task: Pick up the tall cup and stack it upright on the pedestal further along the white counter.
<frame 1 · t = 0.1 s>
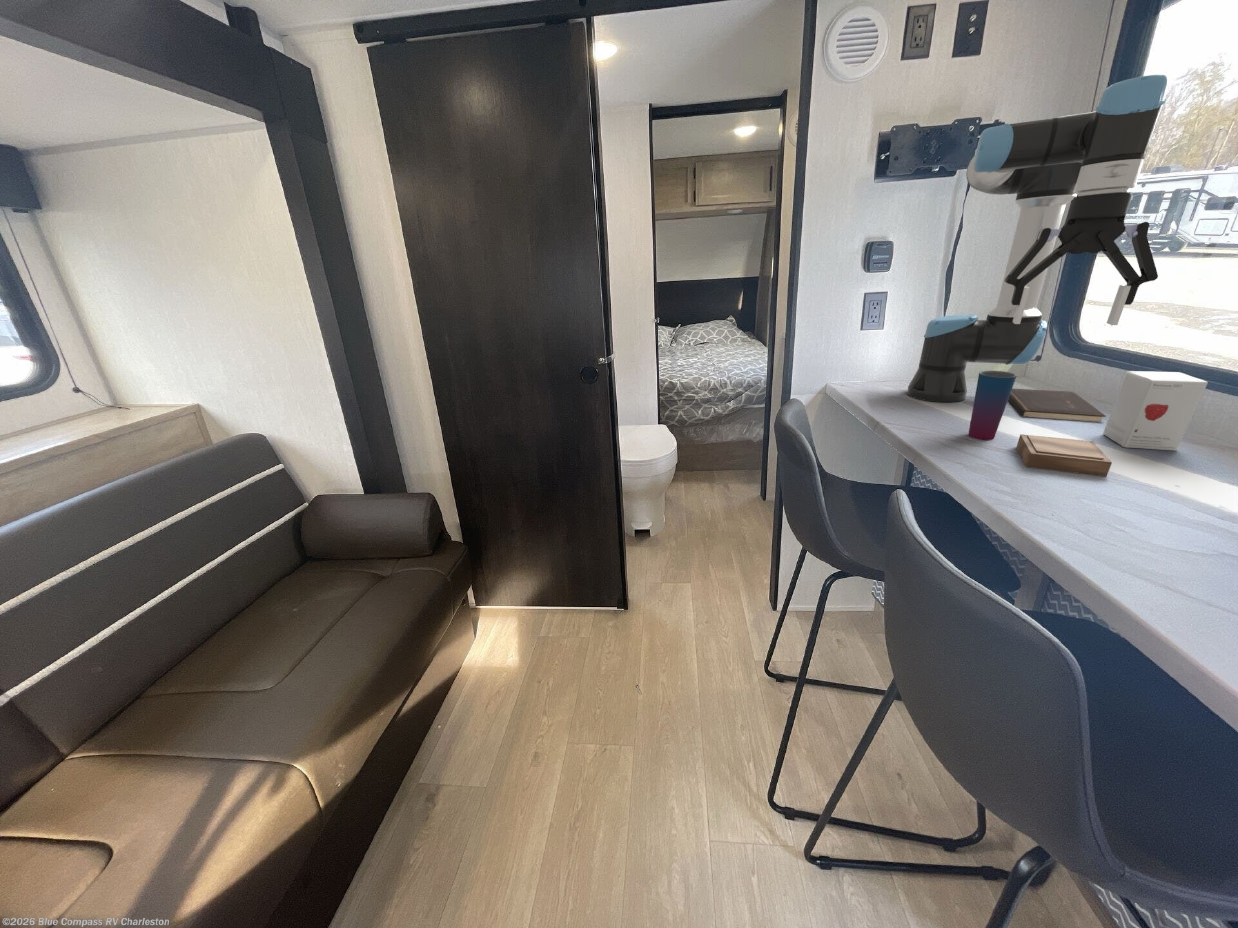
hand: (1062, 323, 88), 28 cm above the table, fingers open, 13 cm apart
cup: (980, 437, 113), on the table
hardcover book: (1047, 409, 130), on the table
supplement box: (1137, 443, 105), on the table
pedestal: (1058, 460, 99), on the table
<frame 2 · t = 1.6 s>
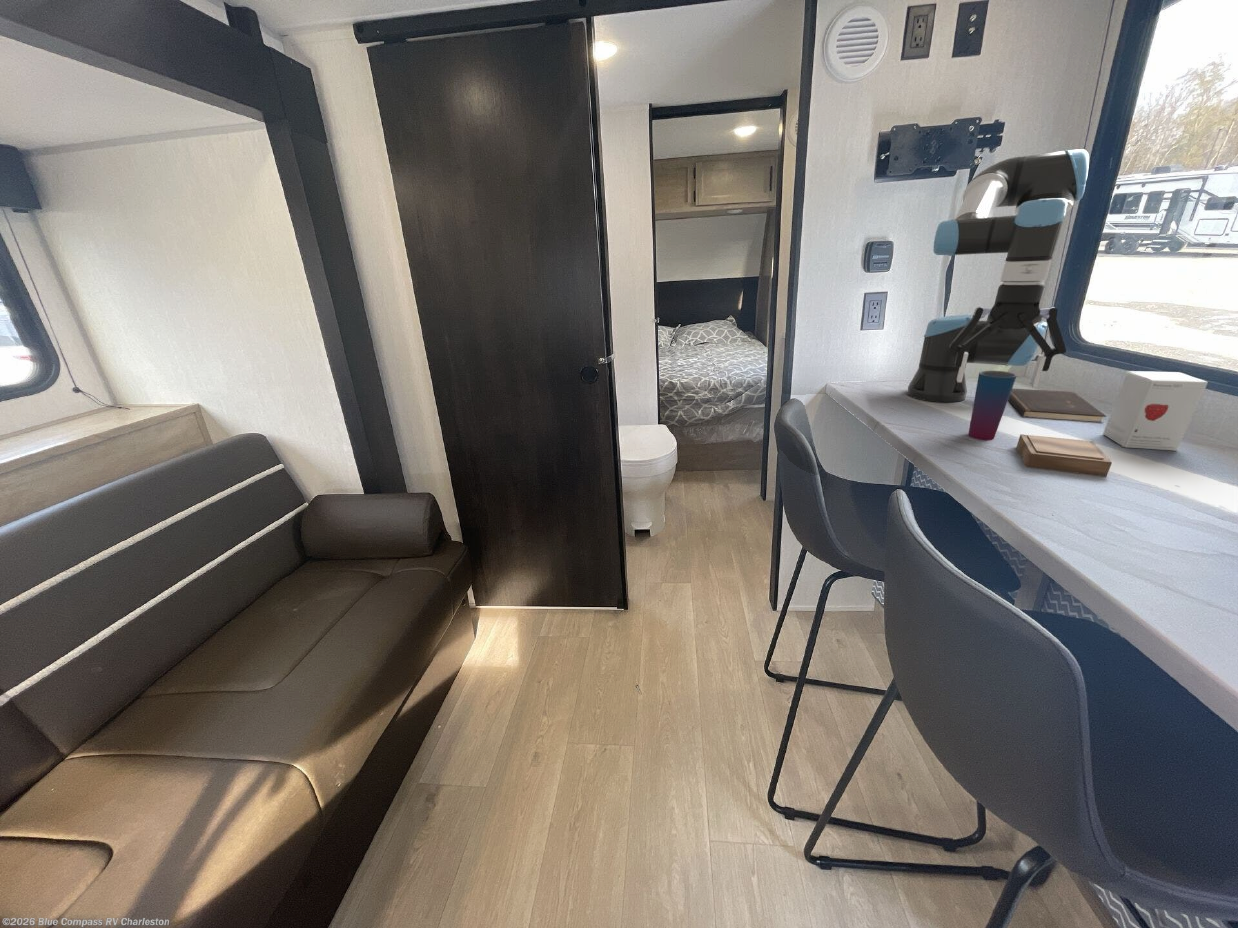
hand: (995, 383, 108), 13 cm above the table, fingers open, 13 cm apart
nothing on the table moved.
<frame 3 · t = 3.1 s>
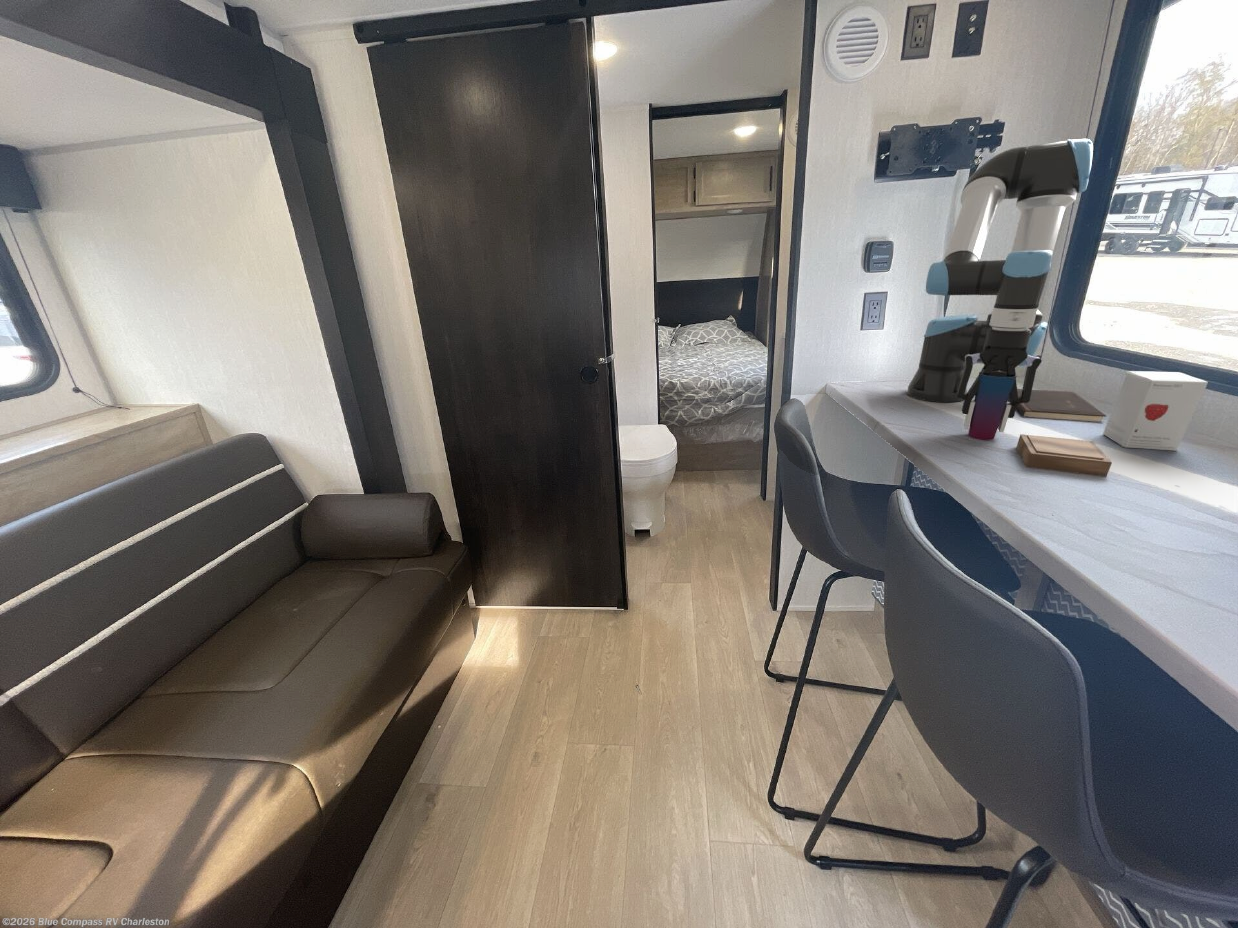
hand: (983, 428, 112), 2 cm above the table, fingers closed on cup, 6 cm apart
cup: (980, 437, 113), on the table, touching gripper
everything else where it was.
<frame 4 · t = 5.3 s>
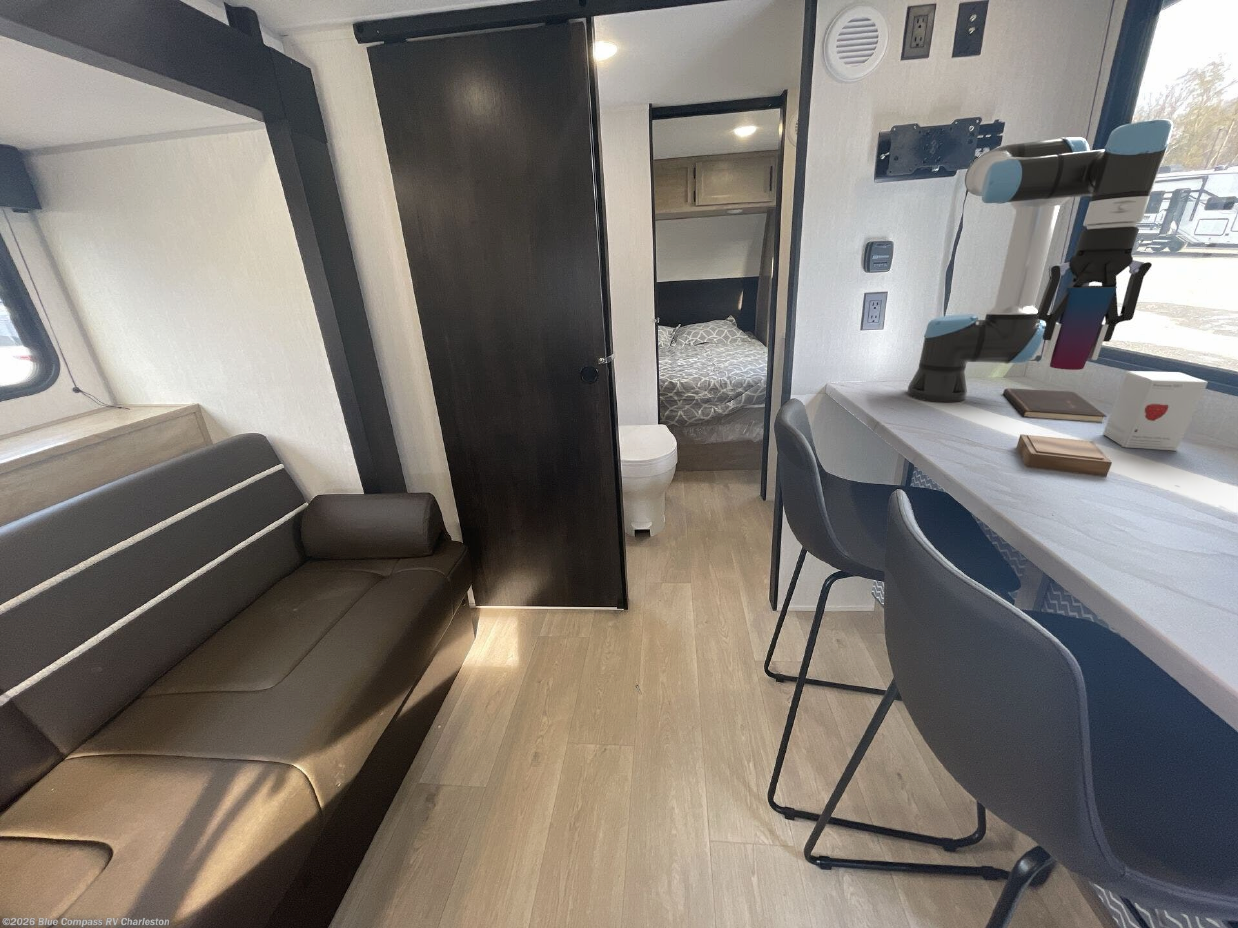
hand: (1069, 357, 93), 21 cm above the table, fingers closed on cup, 6 cm apart
cup: (1065, 368, 94), point 19 cm above the table, touching gripper
everything else where it was.
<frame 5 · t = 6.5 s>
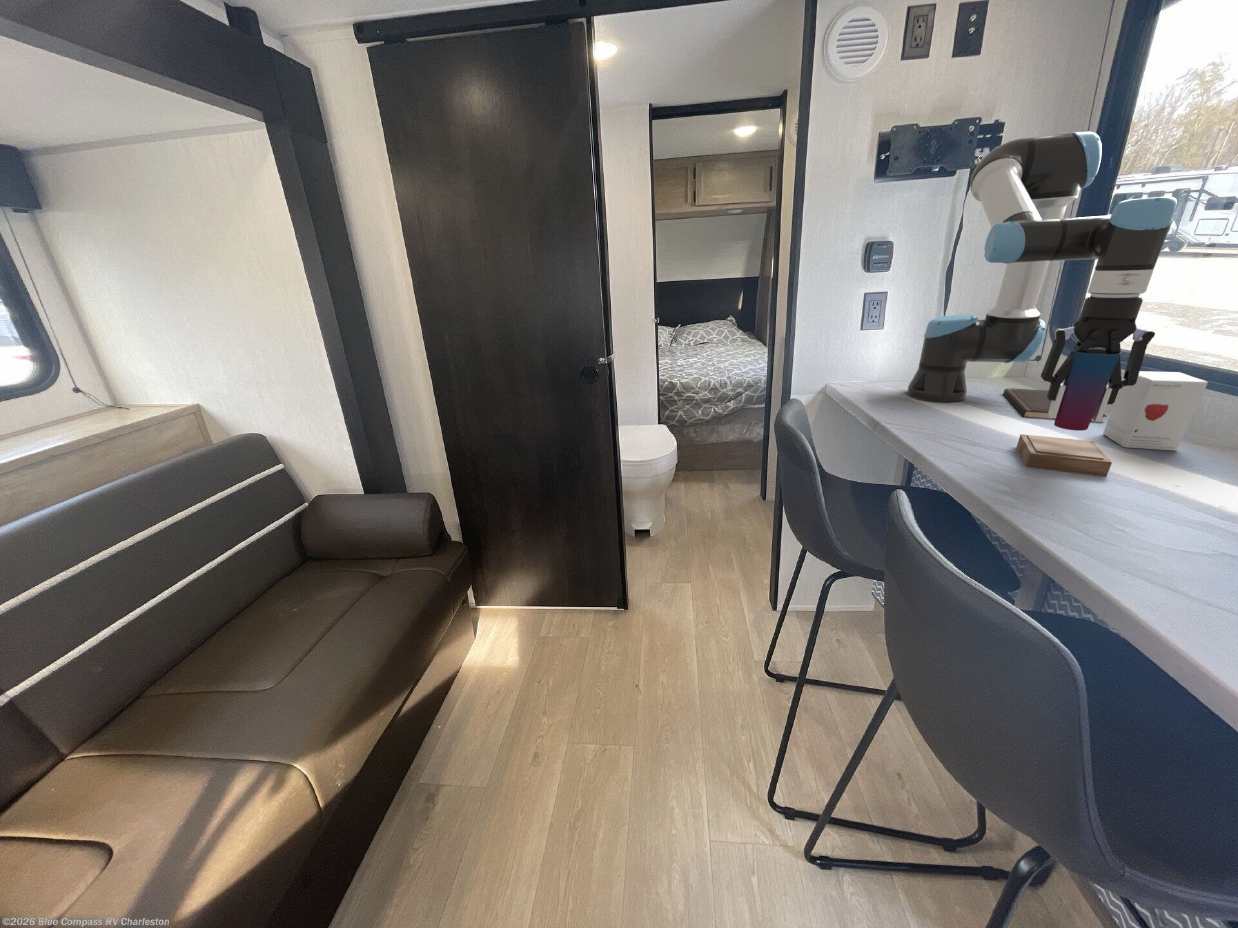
hand: (1073, 417, 95), 9 cm above the table, fingers closed on cup, 6 cm apart
cup: (1070, 427, 95), point 7 cm above the table, touching gripper
everything else where it was.
when the fingers open (6 cm above the table, at t = 7.4 s): cup stays where it is, resting on pedestal.
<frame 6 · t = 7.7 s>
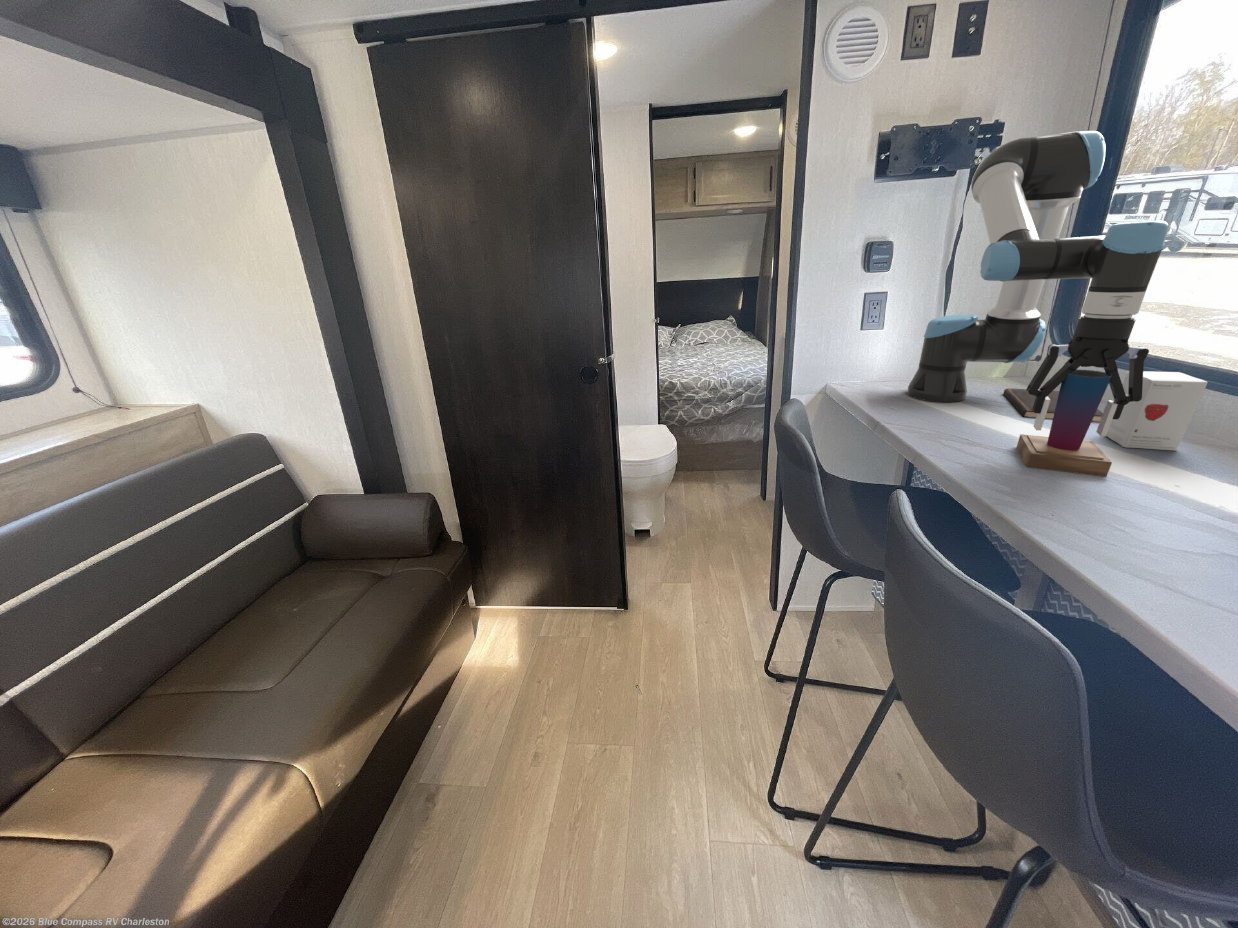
hand: (1068, 431, 96), 6 cm above the table, fingers open, 9 cm apart
cup: (1062, 446, 97), point 3 cm above the table, touching pedestal
everything else where it was.
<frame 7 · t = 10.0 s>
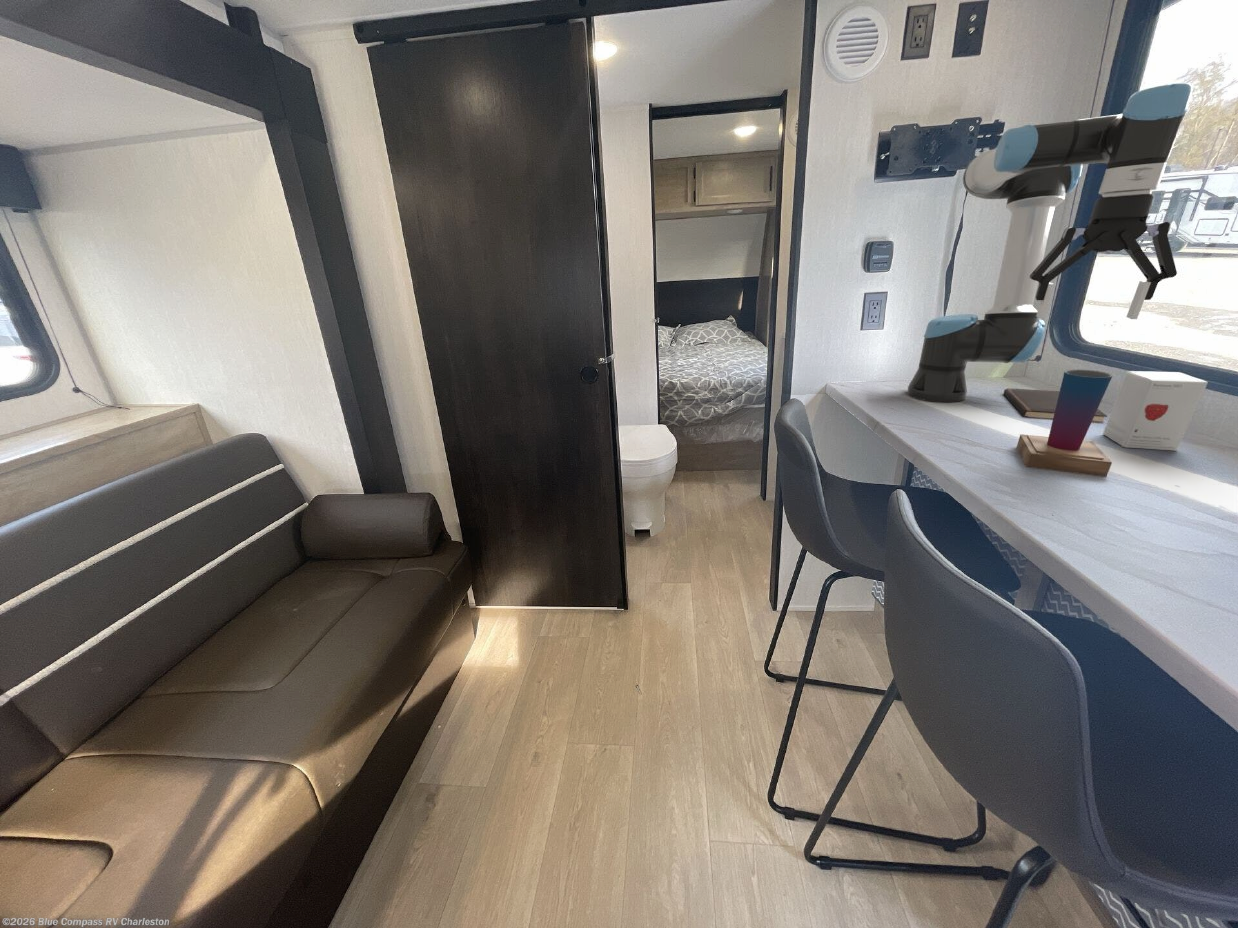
hand: (1084, 318, 93), 28 cm above the table, fingers open, 13 cm apart
nothing on the table moved.
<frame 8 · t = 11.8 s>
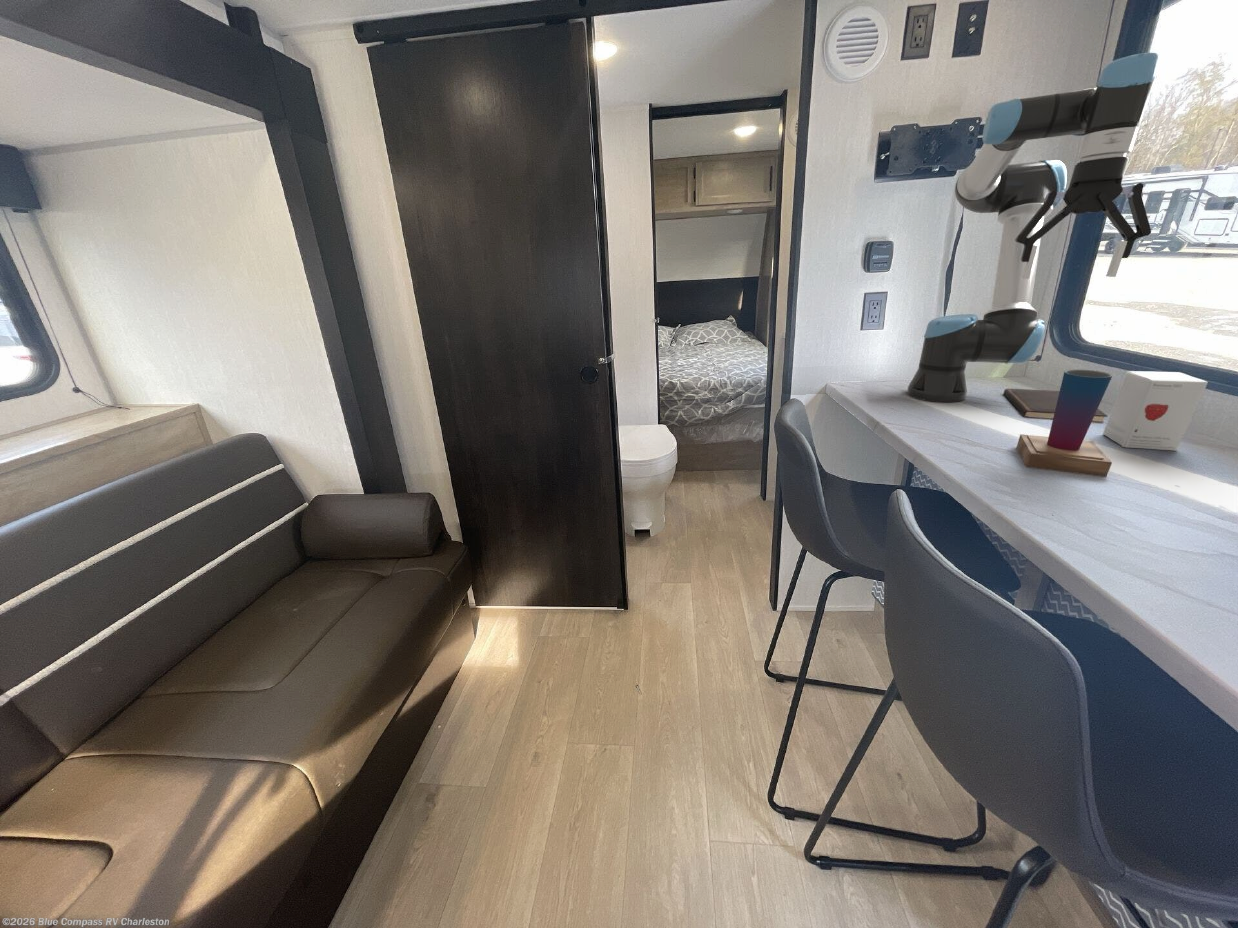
hand: (1066, 277, 99), 35 cm above the table, fingers open, 13 cm apart
nothing on the table moved.
at the end: cup inside the target area on the pedestal (0.0 cm from its centre), point 3.1 cm above the pedestal's base; cup tilted 0°; the gripper is holding nothing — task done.
